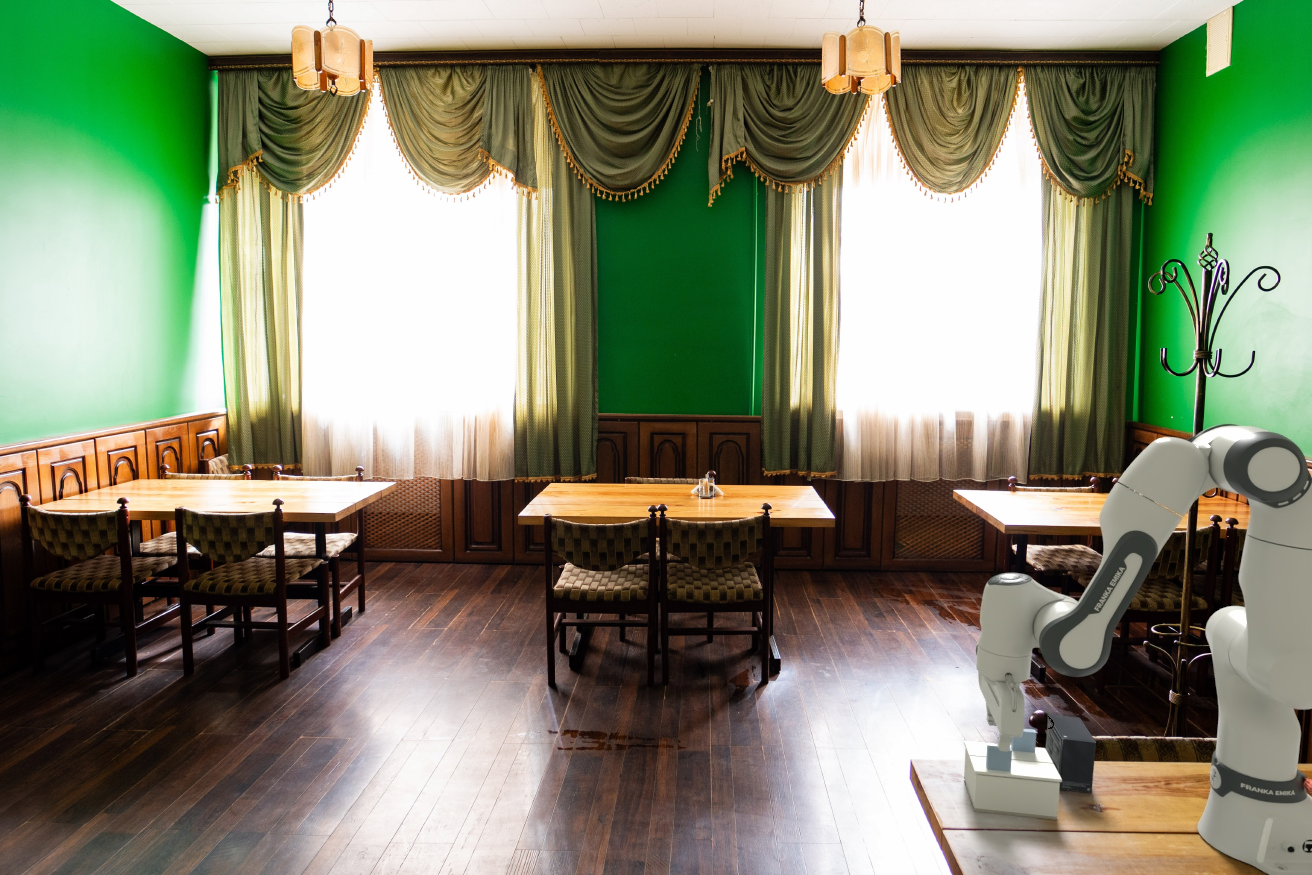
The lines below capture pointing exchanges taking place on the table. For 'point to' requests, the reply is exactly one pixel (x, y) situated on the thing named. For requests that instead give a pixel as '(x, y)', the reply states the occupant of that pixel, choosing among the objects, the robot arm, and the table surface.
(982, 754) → the lid panel far
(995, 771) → the lid panel near
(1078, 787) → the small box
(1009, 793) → the carton
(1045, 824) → the table surface
